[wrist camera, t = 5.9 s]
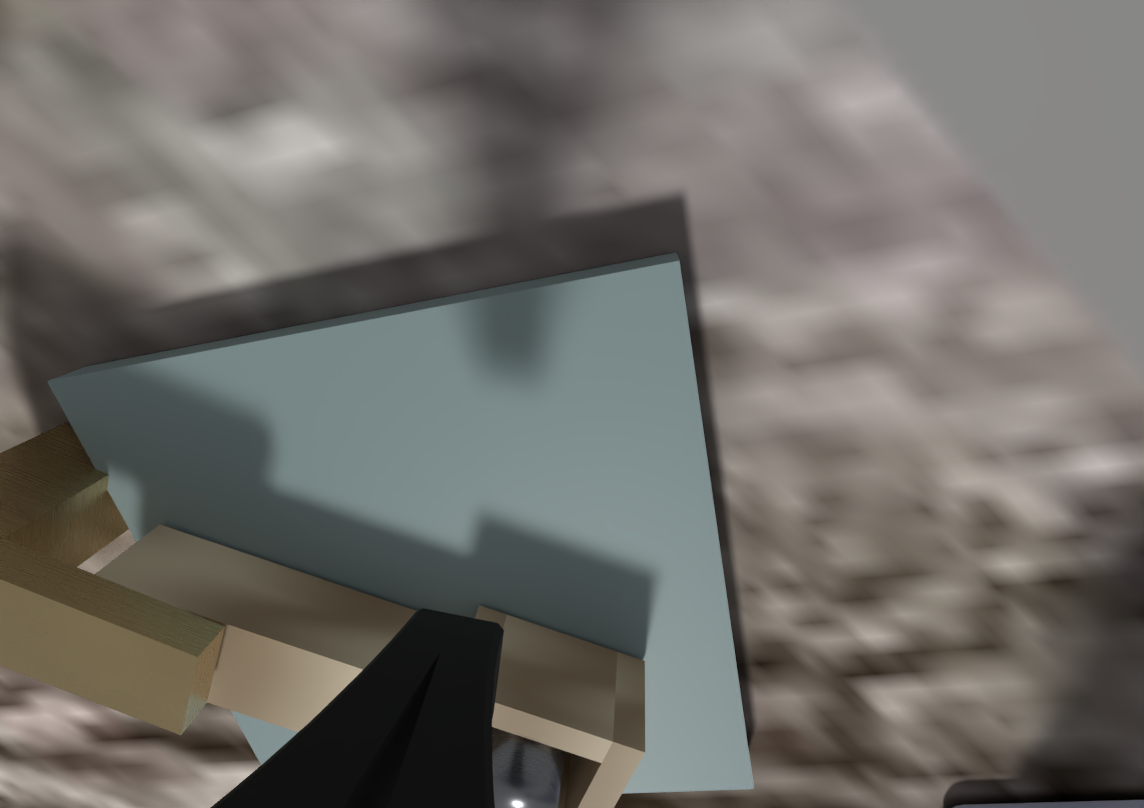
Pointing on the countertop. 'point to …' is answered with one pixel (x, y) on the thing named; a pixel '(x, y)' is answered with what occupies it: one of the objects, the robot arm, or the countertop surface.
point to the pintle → (525, 772)
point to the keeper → (89, 594)
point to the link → (359, 633)
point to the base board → (461, 476)
